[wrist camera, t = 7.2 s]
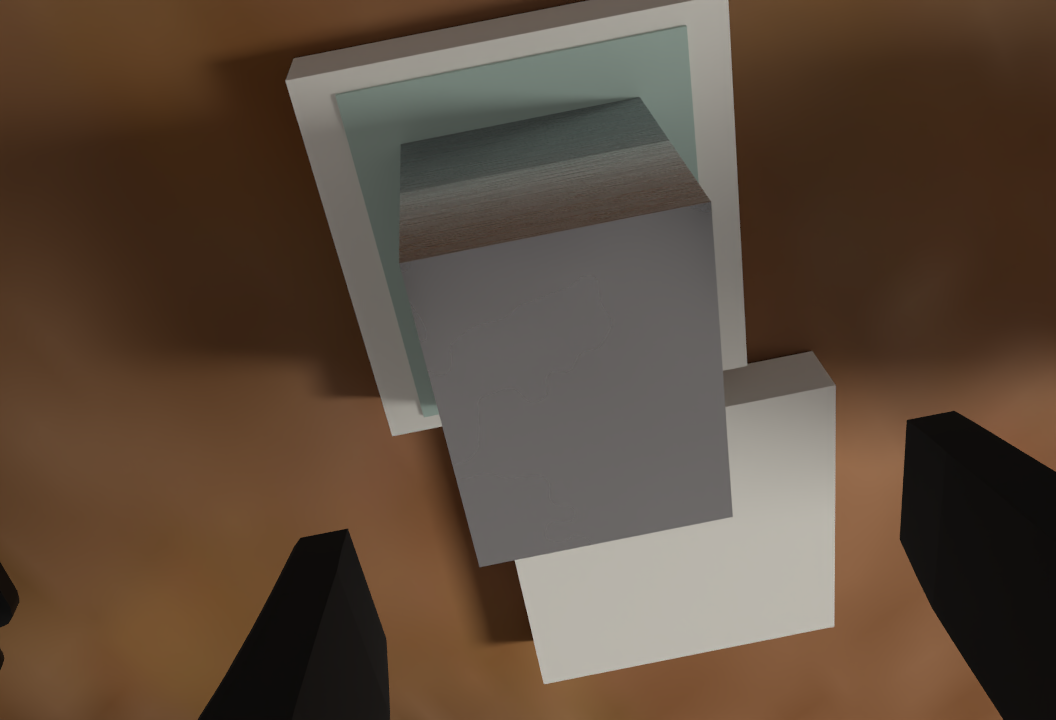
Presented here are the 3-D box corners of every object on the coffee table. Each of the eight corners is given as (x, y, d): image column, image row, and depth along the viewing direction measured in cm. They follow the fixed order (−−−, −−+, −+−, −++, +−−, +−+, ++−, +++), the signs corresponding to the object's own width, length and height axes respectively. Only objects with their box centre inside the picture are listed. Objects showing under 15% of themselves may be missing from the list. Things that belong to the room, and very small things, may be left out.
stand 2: (812, 350, 23) (835, 385, 22) (814, 586, 28) (834, 626, 26) (484, 415, 23) (489, 453, 22) (537, 641, 28) (543, 684, 26)
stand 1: (706, -23, 19) (729, -6, 17) (728, 332, 23) (748, 368, 22) (293, 58, 19) (284, 82, 17) (393, 398, 23) (392, 439, 22)
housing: (640, 96, 18) (711, 201, 14) (667, 365, 21) (732, 516, 17) (400, 143, 18) (399, 263, 14) (464, 405, 21) (479, 567, 17)
